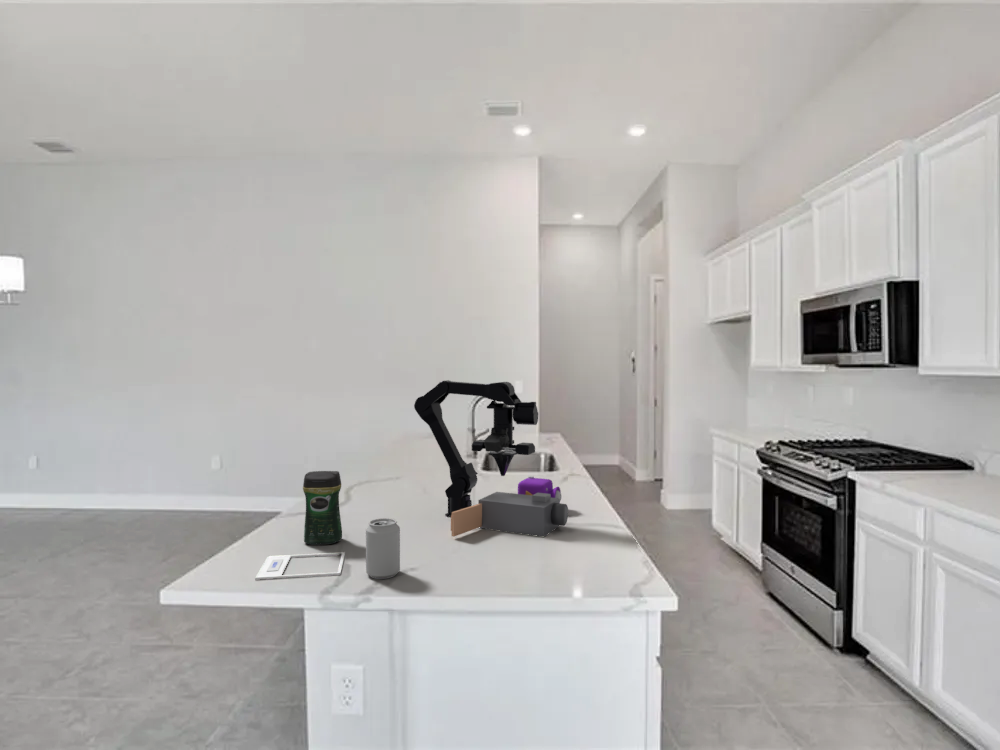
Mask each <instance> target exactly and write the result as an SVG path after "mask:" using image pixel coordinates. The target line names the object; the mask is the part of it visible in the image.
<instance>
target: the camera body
mask: <svg viewBox="0 0 1000 750" xmlns="http://www.w3.org/2000/svg"><path fill="white" fill-rule="evenodd" d="M479 503H481V504H482V527H480V528H479V529H482V528H485V529H484V530H489V529H493V530H492V531H496V530H500V531H499V532H504V531H507V532H506V533H511V532H514V533H513V534H518V533H522V534H521V535H525V534H529V535H528V536H533V535H537V536H536V537H540V536H545V537H546V536H547V534H548V533H549V534H550V533H552V532H553V531H554V529H555V528H556V529H557V528H559V527H560V526H562V527H564V526H566V525H567V523H568V519H569V507H568V504H567V503H561V501H560V498H551V494H546V493H536V494H534V495H523V494H518V493H513V492H502V491H495V492H493V493H491V494H489V495H487V496H484V497H482V498H480V499H478V503H477V504H479ZM558 526H559V527H558ZM556 529H555V530H556ZM552 530H553V531H552ZM551 531H552V532H551ZM549 534H548V535H549Z"/></svg>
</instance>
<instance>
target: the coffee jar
mask: <svg viewBox="0 0 1000 750" xmlns="http://www.w3.org/2000/svg"><path fill="white" fill-rule="evenodd" d="M302 485H303V486H302V490H303V491H302V492H303V493H304V495H305V517H304V528H303V529H304V530H303V541H304V543H305V544H306V545H314V546H315V545H317V546H319V545H321V546H322V545H330V544H335V543H337V542H340V541H341V540H342V538H343V527H342V519H341V512H340V492H341V489H342V479H341V475H340V471H338V470H318V471H317V470H315V471H309V472H306V474H304V479H303V484H302Z"/></svg>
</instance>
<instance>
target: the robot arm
mask: <svg viewBox="0 0 1000 750" xmlns="http://www.w3.org/2000/svg"><path fill="white" fill-rule="evenodd" d="M450 394H452V395H462V396H463V395H464V396H474V397H475V396H476V397H483V398H485V399H488V400H491V402H490V403H489V404H488V405H487V406H486V409H488V410H490V409H491V410H493V427H491V430H490V434H489V435H488V436H487V437H486V438H485V439H478V440H473V442H472V443H471V451H472V452H482V450H485V451H486V452H488V455H489V456H492V457H493V459H494V461H495V462H496V463H495V464H496V465H497V468H498V471H499V474H500V476H501V477H505V476H506V473H507V471H508V469H509V466H510V464H511V463H512V460H513V458H514V457H515V455H522V456H523V455H524V456H528V455H531V454H534V453H536V446H535V444H534V443H533V442H520V443H517V444H515V440H514V439H513V437H514V436H513V432H514V431H515V426H513V425H514V423H513V421H514V422H515V424H517V425H522V426H523V425H525V426H526V425H527V426H537V425H538V421H539V411H538V410H539V409H538V406H537V402H536V401H529V402H527V401H526V402H525V401H522V400H521V399H520V398H519V396H518V395H517V394H516V391H515V386H514V385H513V384H512V383H511V382H509V381H500V382H490V383H477V382H466V381H465V382H464V381H463V382H462V381H453V380H452V381H451V380H449V379H448V380H441V381H439V383H438V384H436V385H435V386H434V387H433V388H432V389H430V390H428V391H427V392H426V393H425V394H424V395H421V396H419V397H417V398H416V399H415V401H414V404H413V407H414V408H413V409H414V410H415V412H416V413H417V415H418V416H419V418H420V419H421V420H423V422H424V423H426V424H427V426H428V427H429V428H430V430H431V433H432V434H433V435H432V436H434V439H435V440H436V443H437V445H438V447H439V448H440V451H441V453H442V455H443V457H444V459H445V461H446V463H447V465H448V467H449V477H450V481H451V484H450V485H449V486H448V487H447V488H446V489H445V491H444V492H445V496H446V497H447V512H446V513H445V514H444V516H446V517H451V516H452V512H454V511H457V510H461V509H464V508H467V507H470V506H473V505H472V503H473V502H472V499H471V493H472V490H473V488H474V487H476V485H477V483H478V476H477V475H478V474H479V473H478V472H477V471H476V469H475V468H474V464H473V462H469V463H467V462H466V461H465V460H464V459H463V458H462V455H461V453H460V451H459V450H458V448H457V446H456V443H455V441H454V439H453V438H452V435H451V433H450V431H449V429H448V428H447V426H446V423H445V421H444V419H443V409H442V407H441V404H442V403H443V402H444V401H445V400H446V399H447V397H448V396H449V395H450Z"/></svg>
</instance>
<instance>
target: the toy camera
mask: <svg viewBox="0 0 1000 750" xmlns="http://www.w3.org/2000/svg"><path fill="white" fill-rule="evenodd" d="M553 484H554V483H553V481H552V480H551V479H549V478H541V477H539V478H537V477H534V475H533V476H532V475H528V476H527V478H525V479H523V480H521V481H519V482H518V483H517V494H523V495H534V494H536V493H546V494H551V498H560V502H561V500H562V493H561V492H562V491H561V488H560V486H555V488H553Z"/></svg>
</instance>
